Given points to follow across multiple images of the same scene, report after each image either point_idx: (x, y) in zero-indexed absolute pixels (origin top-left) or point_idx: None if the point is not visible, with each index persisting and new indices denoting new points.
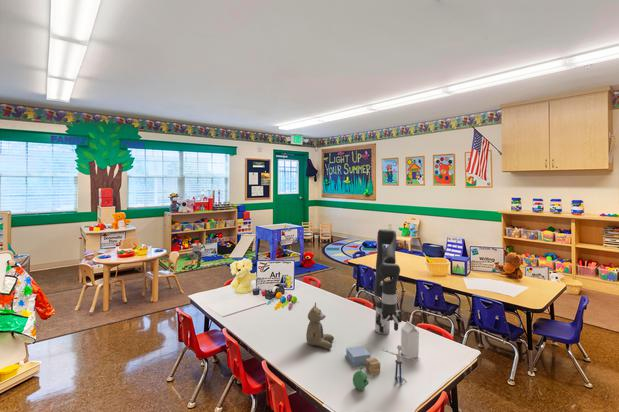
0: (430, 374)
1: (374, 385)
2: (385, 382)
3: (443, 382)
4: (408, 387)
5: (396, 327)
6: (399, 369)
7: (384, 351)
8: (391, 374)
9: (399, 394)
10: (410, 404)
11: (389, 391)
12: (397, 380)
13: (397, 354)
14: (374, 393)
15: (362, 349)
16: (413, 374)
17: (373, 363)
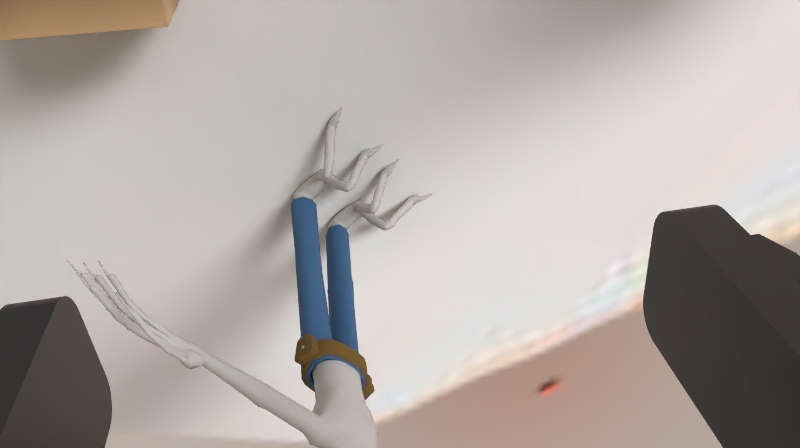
0: (731, 130)
1: (44, 198)
2: (188, 172)
3: None
4: (387, 269)
5: (708, 418)
6: (331, 326)
7: (144, 320)
8: (320, 50)
9: (258, 334)
10: (292, 426)
11: (180, 293)
12: (328, 184)
13: (327, 445)
14: (18, 300)
15: None
16: (567, 98)
17: (45, 22)
